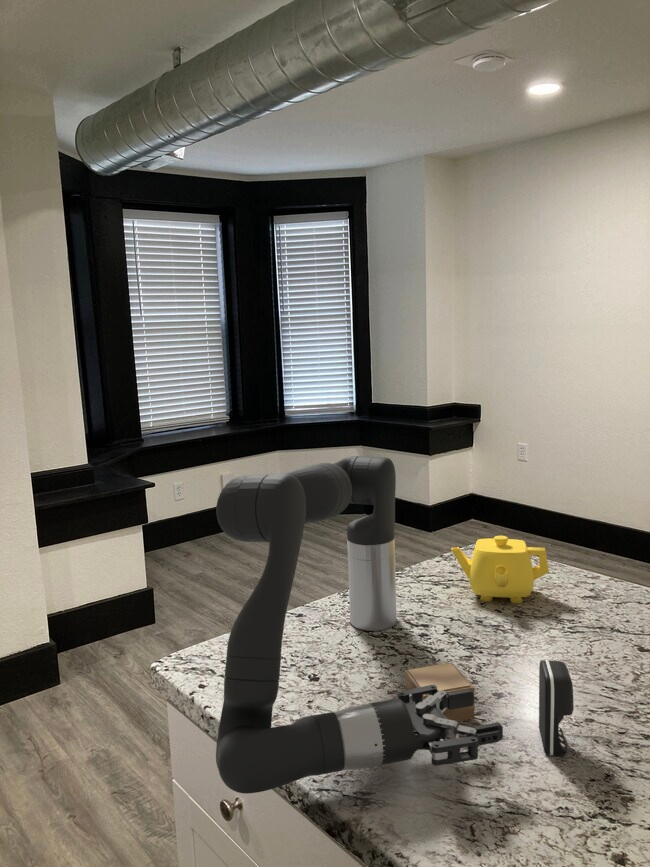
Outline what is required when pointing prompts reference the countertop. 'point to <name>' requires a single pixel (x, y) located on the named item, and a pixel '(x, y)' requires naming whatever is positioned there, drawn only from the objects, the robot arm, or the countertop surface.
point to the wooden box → (442, 685)
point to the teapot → (502, 568)
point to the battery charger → (554, 705)
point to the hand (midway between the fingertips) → (486, 713)
